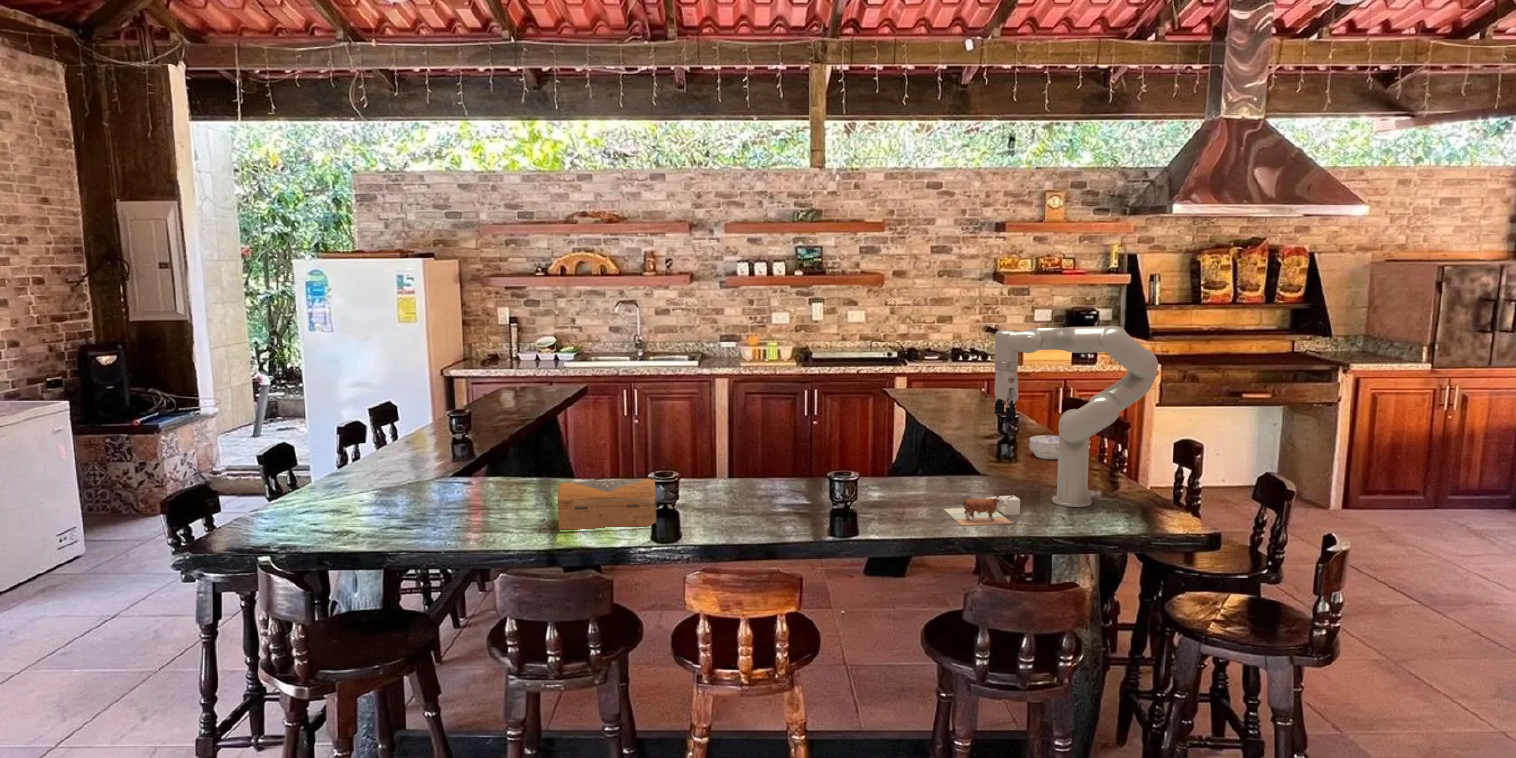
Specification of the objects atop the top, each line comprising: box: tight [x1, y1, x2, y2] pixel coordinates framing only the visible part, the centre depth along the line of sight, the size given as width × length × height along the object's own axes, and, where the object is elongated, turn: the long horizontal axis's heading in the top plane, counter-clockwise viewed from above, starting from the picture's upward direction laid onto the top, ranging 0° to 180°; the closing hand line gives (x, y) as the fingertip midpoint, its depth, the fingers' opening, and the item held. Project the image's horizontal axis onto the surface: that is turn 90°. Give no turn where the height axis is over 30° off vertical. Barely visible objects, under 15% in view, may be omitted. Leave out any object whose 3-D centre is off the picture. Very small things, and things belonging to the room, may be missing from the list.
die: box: [998, 495, 1021, 516], centre depth 284 cm, size 5×5×5 cm
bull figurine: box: [962, 495, 1007, 522], centre depth 273 cm, size 4×13×8 cm, turn 83°
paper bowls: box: [1028, 434, 1059, 460], centre depth 362 cm, size 15×15×8 cm
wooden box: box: [557, 478, 657, 531], centre depth 277 cm, size 30×16×14 cm, turn 96°
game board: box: [943, 507, 1013, 527], centre depth 280 cm, size 16×18×1 cm
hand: (1004, 416), depth 298 cm, fingers open, 9 cm apart
